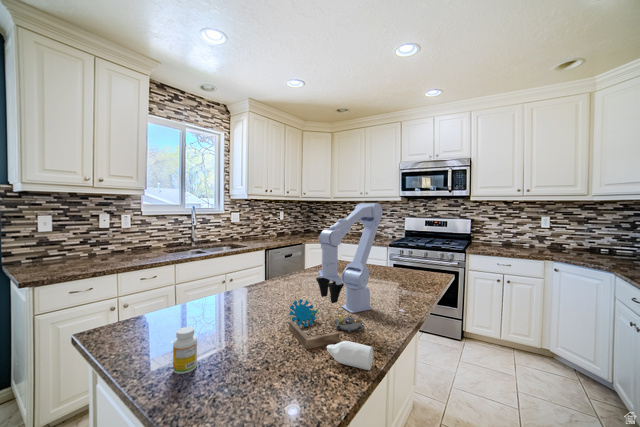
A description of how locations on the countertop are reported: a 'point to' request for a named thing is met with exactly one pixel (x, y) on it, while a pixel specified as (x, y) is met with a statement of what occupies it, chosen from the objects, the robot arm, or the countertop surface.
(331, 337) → the tray
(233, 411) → the countertop surface
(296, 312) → the gear
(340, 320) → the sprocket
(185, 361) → the supplement bottle
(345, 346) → the white plastic bottle
